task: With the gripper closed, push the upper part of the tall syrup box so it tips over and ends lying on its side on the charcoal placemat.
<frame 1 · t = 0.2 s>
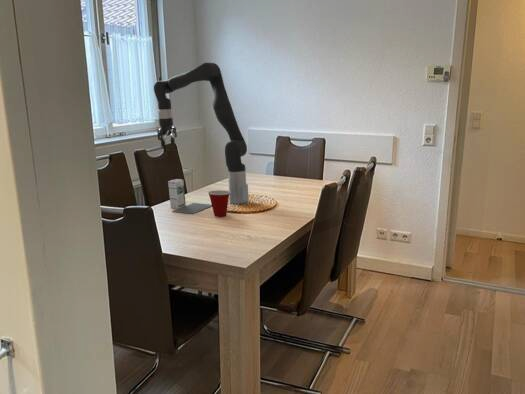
hand: (168, 146, 272), 29 cm above the table, tool pointing down, fingers open, 8 cm apart
plastic cup: (220, 215, 233), on the table
charcoal placemat: (193, 208, 248), on the table
syrup box: (178, 207, 253), on the table
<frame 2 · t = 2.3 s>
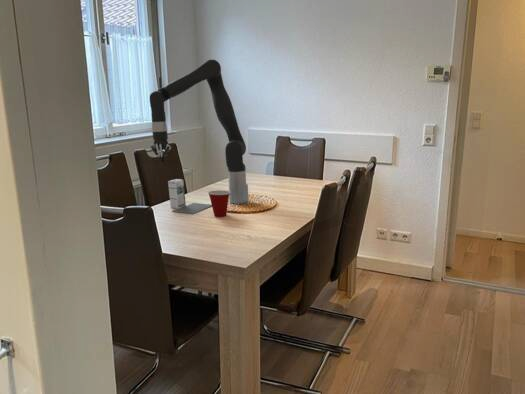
hand: (162, 163, 252), 23 cm above the table, tool pointing down, fingers closed
nothing on the table moved.
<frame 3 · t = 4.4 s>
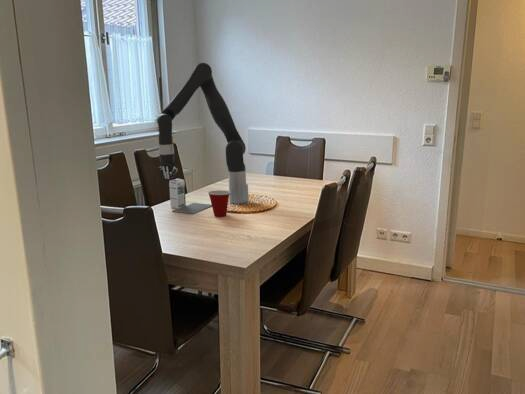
hand: (169, 185, 253), 11 cm above the table, tool pointing down, fingers closed
syrup box: (178, 207, 253), on the table, touching gripper
everything else where it was.
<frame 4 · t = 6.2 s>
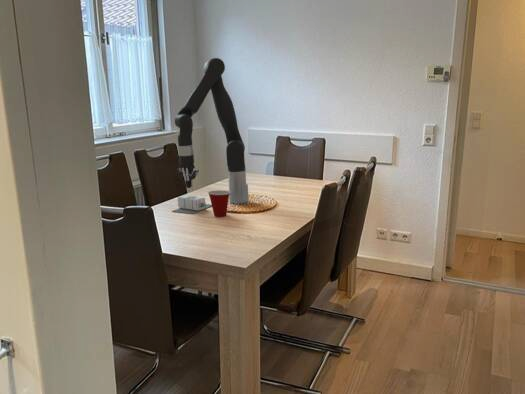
hand: (188, 187, 247), 11 cm above the table, tool pointing down, fingers closed
syrup box: (181, 201, 251), point 3 cm above the table, touching charcoal placemat
everything else where it was.
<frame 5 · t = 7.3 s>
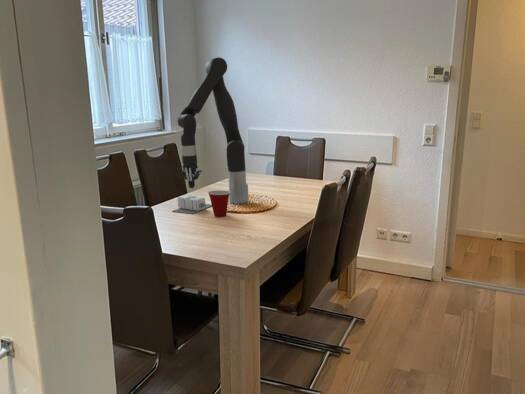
hand: (191, 187, 246), 11 cm above the table, tool pointing down, fingers closed
nothing on the table moved.
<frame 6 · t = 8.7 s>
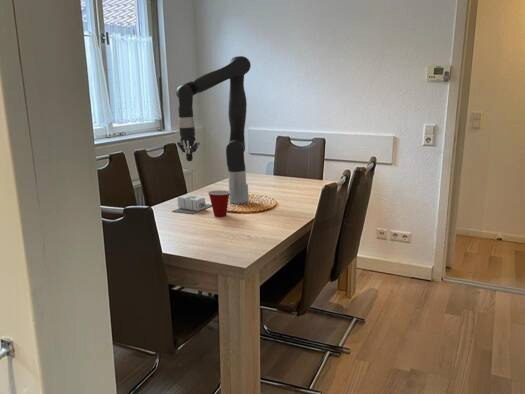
hand: (189, 160, 243), 25 cm above the table, tool pointing down, fingers closed
nothing on the table moved.
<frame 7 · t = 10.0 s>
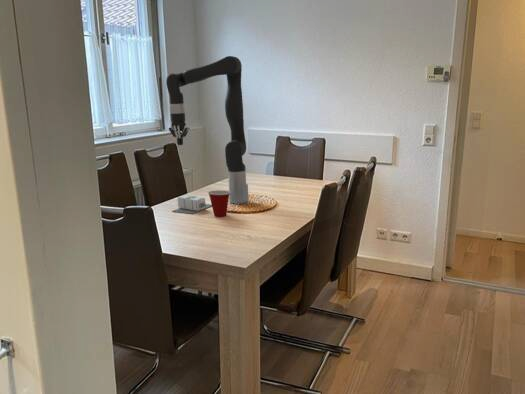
hand: (180, 145, 258), 31 cm above the table, tool pointing down, fingers closed
nothing on the table moved.
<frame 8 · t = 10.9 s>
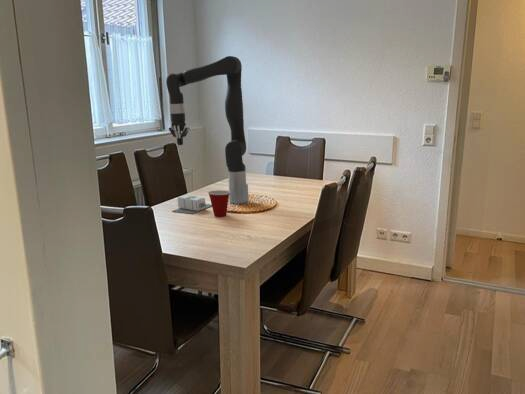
hand: (180, 145, 258), 31 cm above the table, tool pointing down, fingers closed
nothing on the table moved.
at the end: syrup box tilted 91°; syrup box touching charcoal placemat; the gripper is holding nothing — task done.
